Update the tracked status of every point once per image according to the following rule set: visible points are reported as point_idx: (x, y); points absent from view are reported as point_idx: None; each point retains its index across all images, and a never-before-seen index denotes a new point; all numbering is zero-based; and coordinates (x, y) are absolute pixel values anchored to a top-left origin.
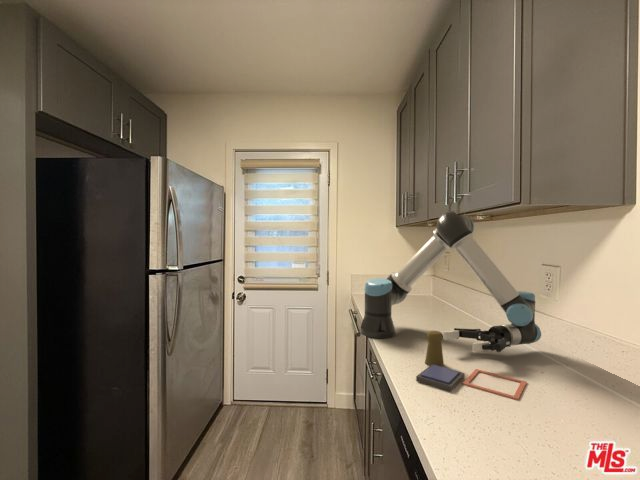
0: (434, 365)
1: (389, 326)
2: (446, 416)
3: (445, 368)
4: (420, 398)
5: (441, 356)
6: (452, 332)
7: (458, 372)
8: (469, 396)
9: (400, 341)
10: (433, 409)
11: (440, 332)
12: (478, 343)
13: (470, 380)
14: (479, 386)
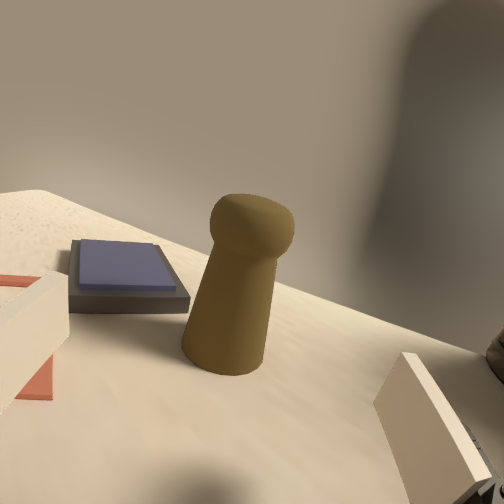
0: (169, 283)
1: None
2: (54, 217)
3: (128, 281)
4: (108, 230)
5: (194, 306)
6: (430, 416)
7: (80, 277)
8: (31, 253)
9: (484, 398)
10: (76, 221)
11: (240, 200)
12: (26, 290)
13: None
14: (13, 280)
